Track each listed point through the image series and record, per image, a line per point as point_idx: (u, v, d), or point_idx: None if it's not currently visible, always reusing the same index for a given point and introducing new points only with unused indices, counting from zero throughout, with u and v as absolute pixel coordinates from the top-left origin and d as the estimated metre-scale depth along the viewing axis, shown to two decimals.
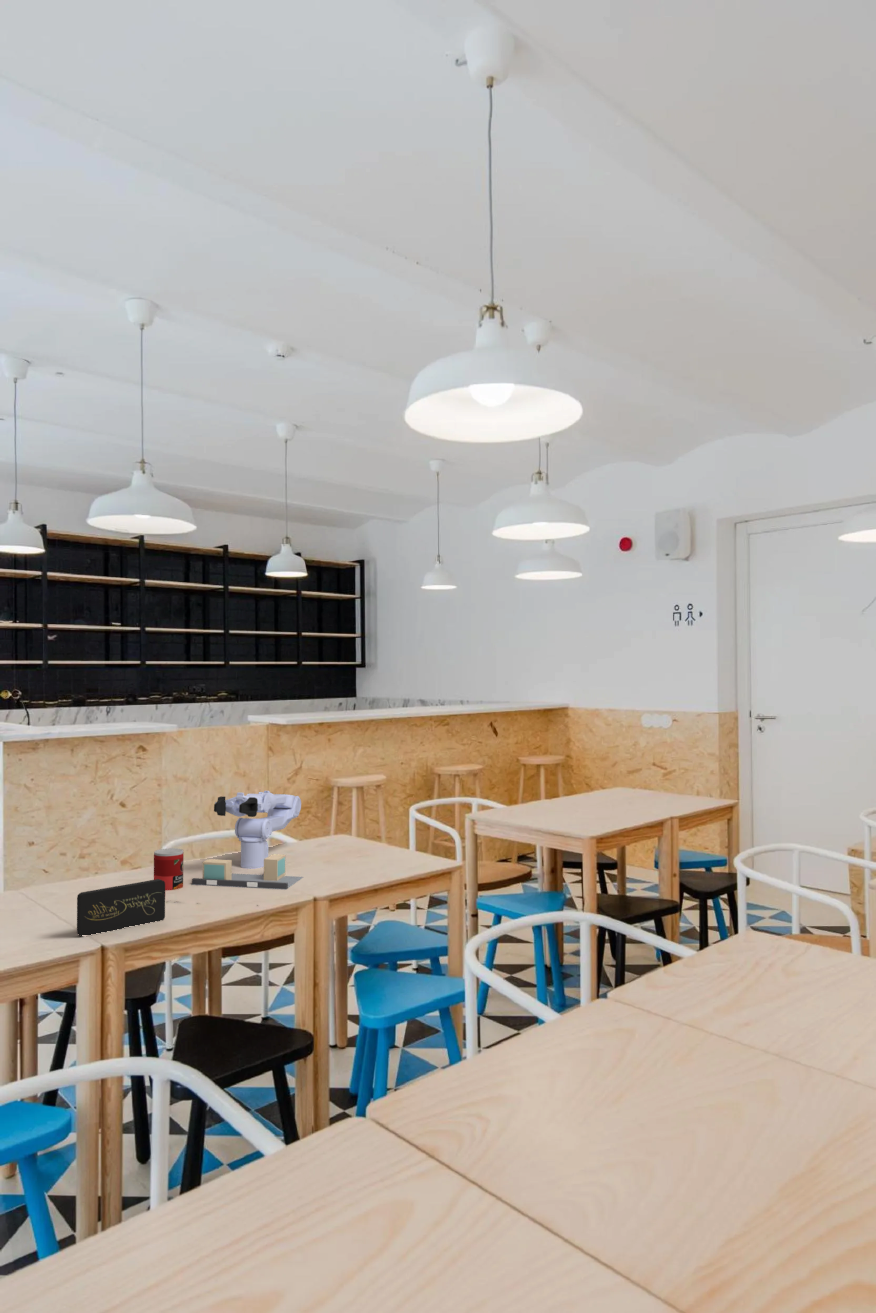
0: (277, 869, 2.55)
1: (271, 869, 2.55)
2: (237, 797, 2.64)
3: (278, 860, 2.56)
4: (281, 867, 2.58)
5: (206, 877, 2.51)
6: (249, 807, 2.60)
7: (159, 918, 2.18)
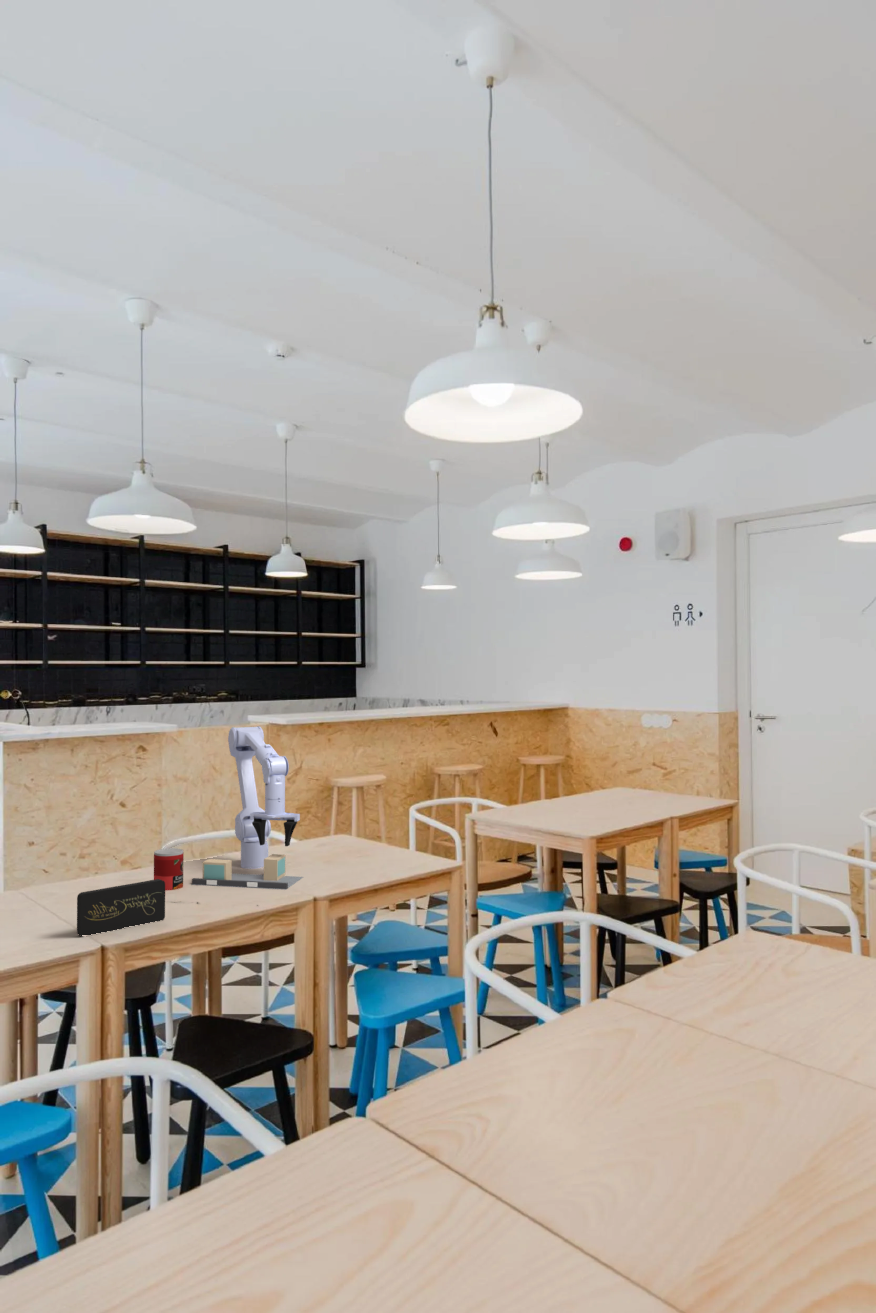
0: (277, 869, 2.55)
1: (271, 869, 2.55)
2: None
3: (278, 860, 2.56)
4: (281, 867, 2.58)
5: (206, 877, 2.51)
6: None
7: (159, 918, 2.18)
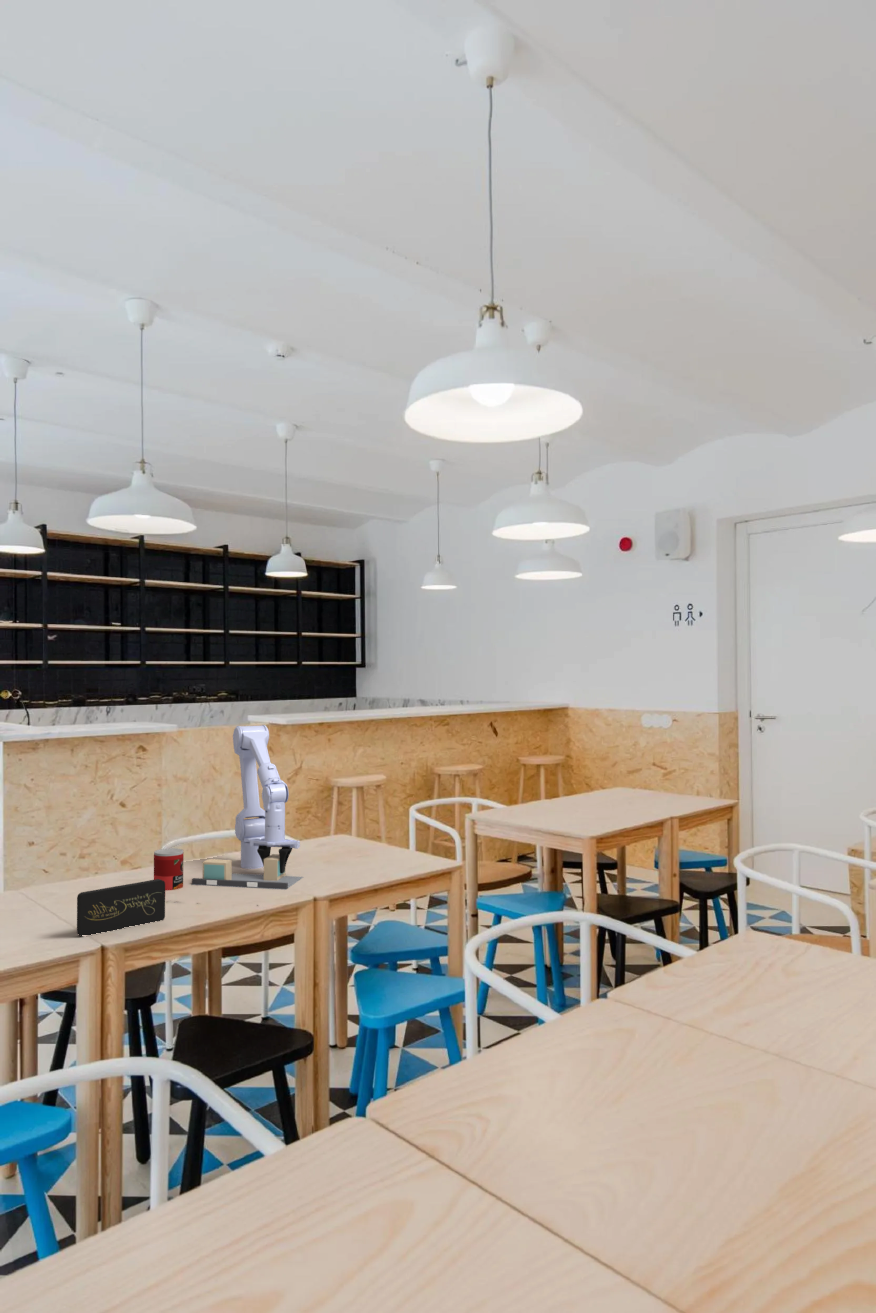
0: (277, 869, 2.55)
1: (271, 869, 2.55)
2: None
3: (278, 860, 2.56)
4: None
5: (206, 877, 2.51)
6: None
7: (159, 918, 2.18)
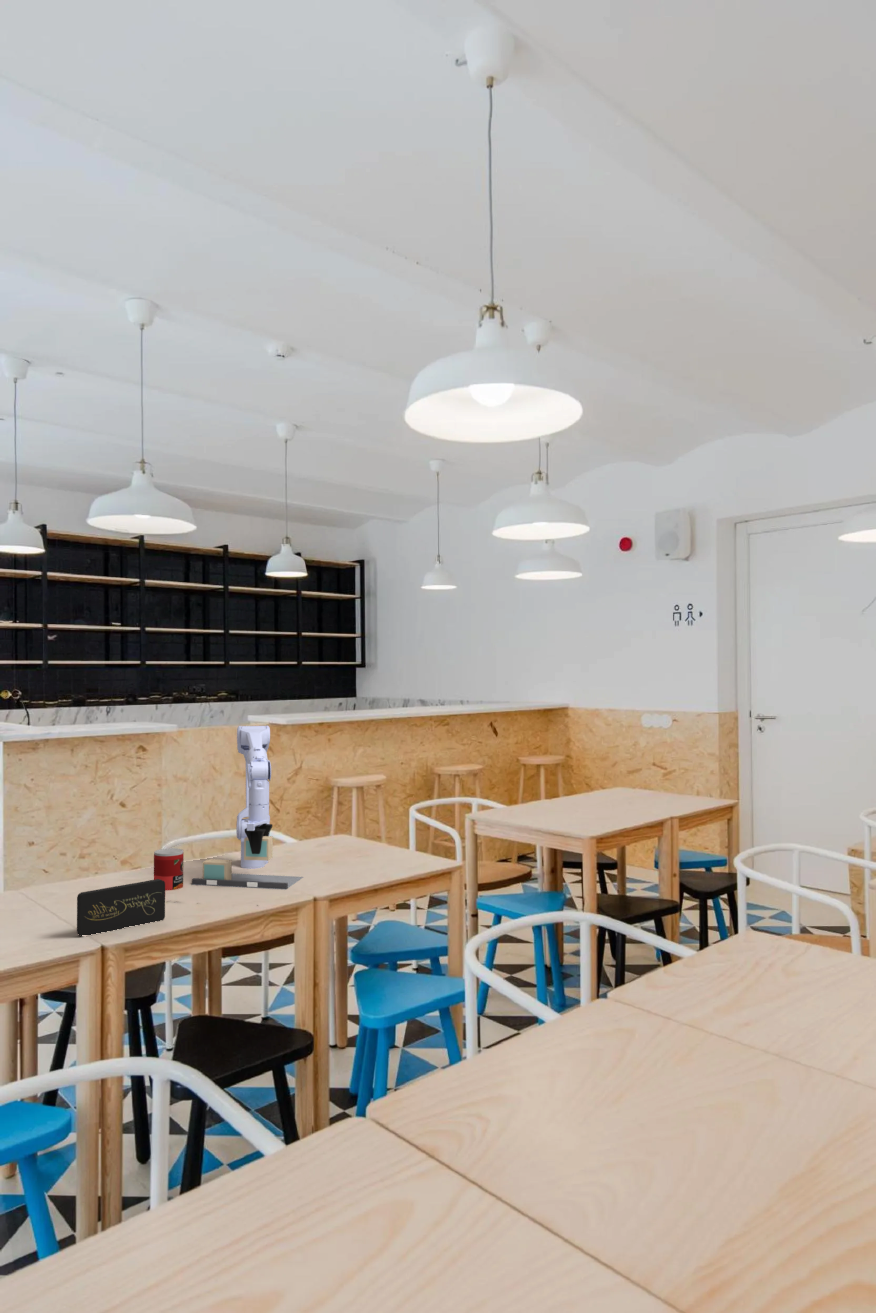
0: (246, 848, 2.50)
1: None
2: None
3: (248, 840, 2.50)
4: None
5: (206, 877, 2.51)
6: (255, 833, 2.48)
7: (159, 918, 2.18)
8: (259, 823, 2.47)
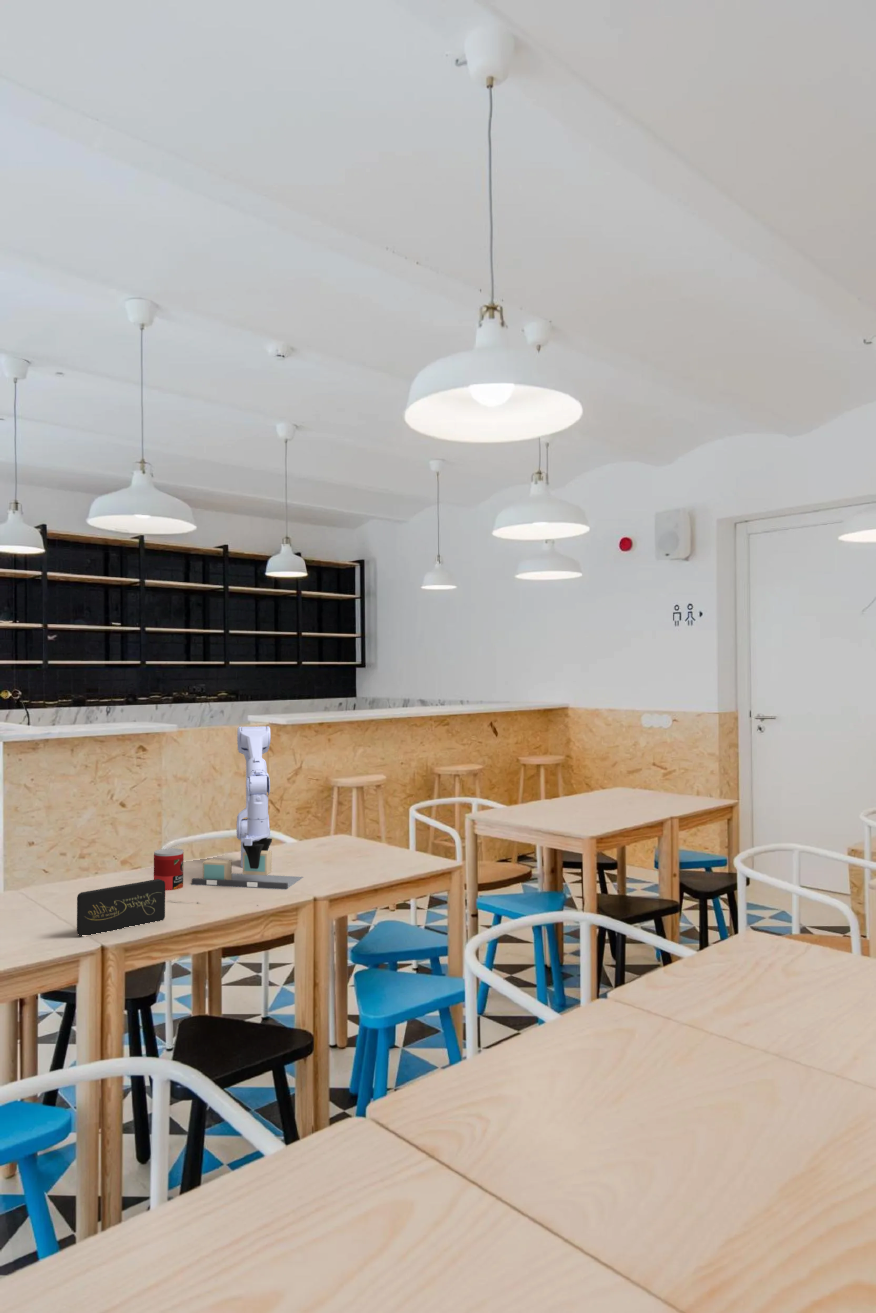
0: (244, 863, 2.49)
1: None
2: None
3: (246, 854, 2.49)
4: None
5: (206, 877, 2.51)
6: (253, 848, 2.48)
7: (159, 918, 2.18)
8: (257, 838, 2.46)
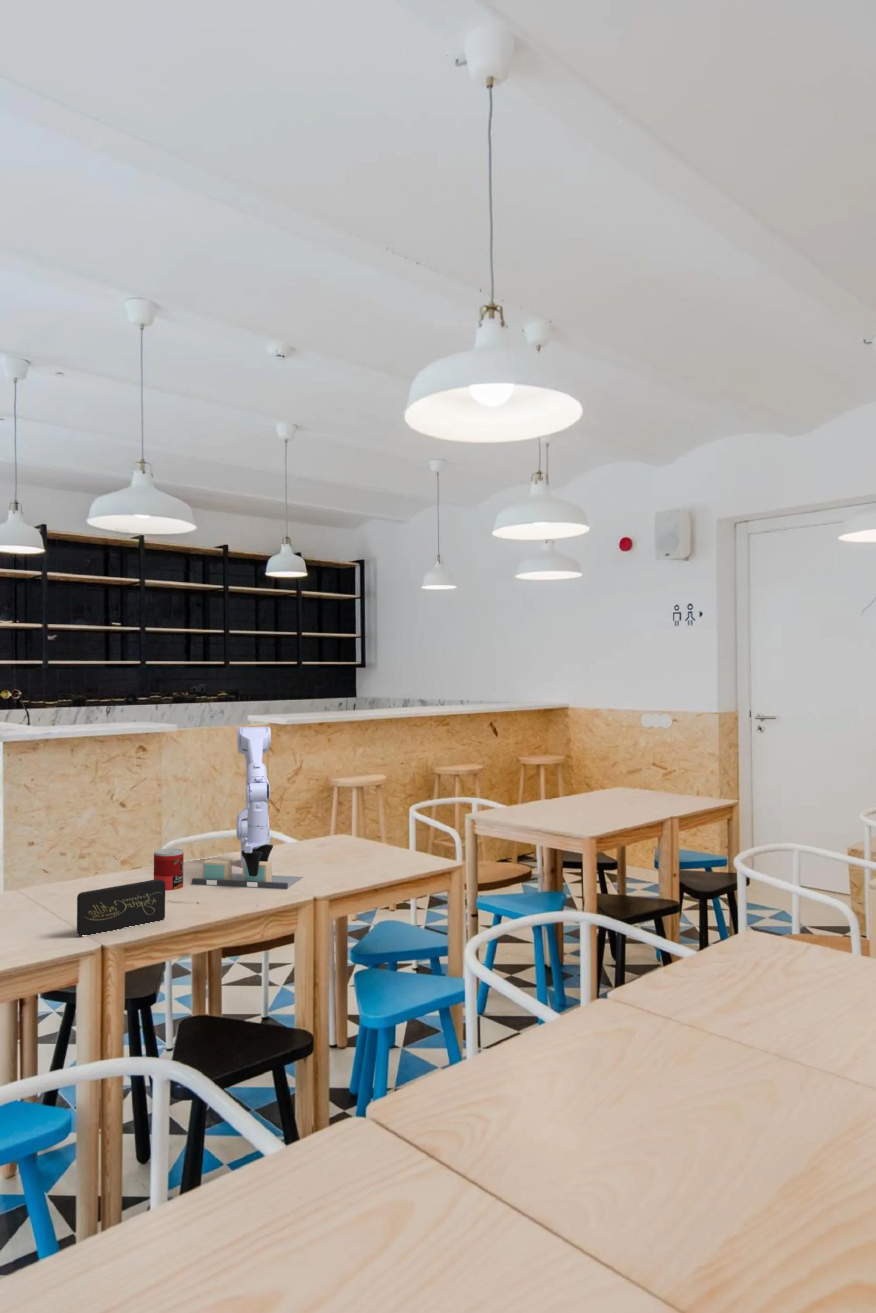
0: (244, 874, 2.49)
1: None
2: None
3: (246, 865, 2.49)
4: None
5: (206, 877, 2.51)
6: (252, 856, 2.47)
7: (159, 918, 2.18)
8: (257, 845, 2.46)
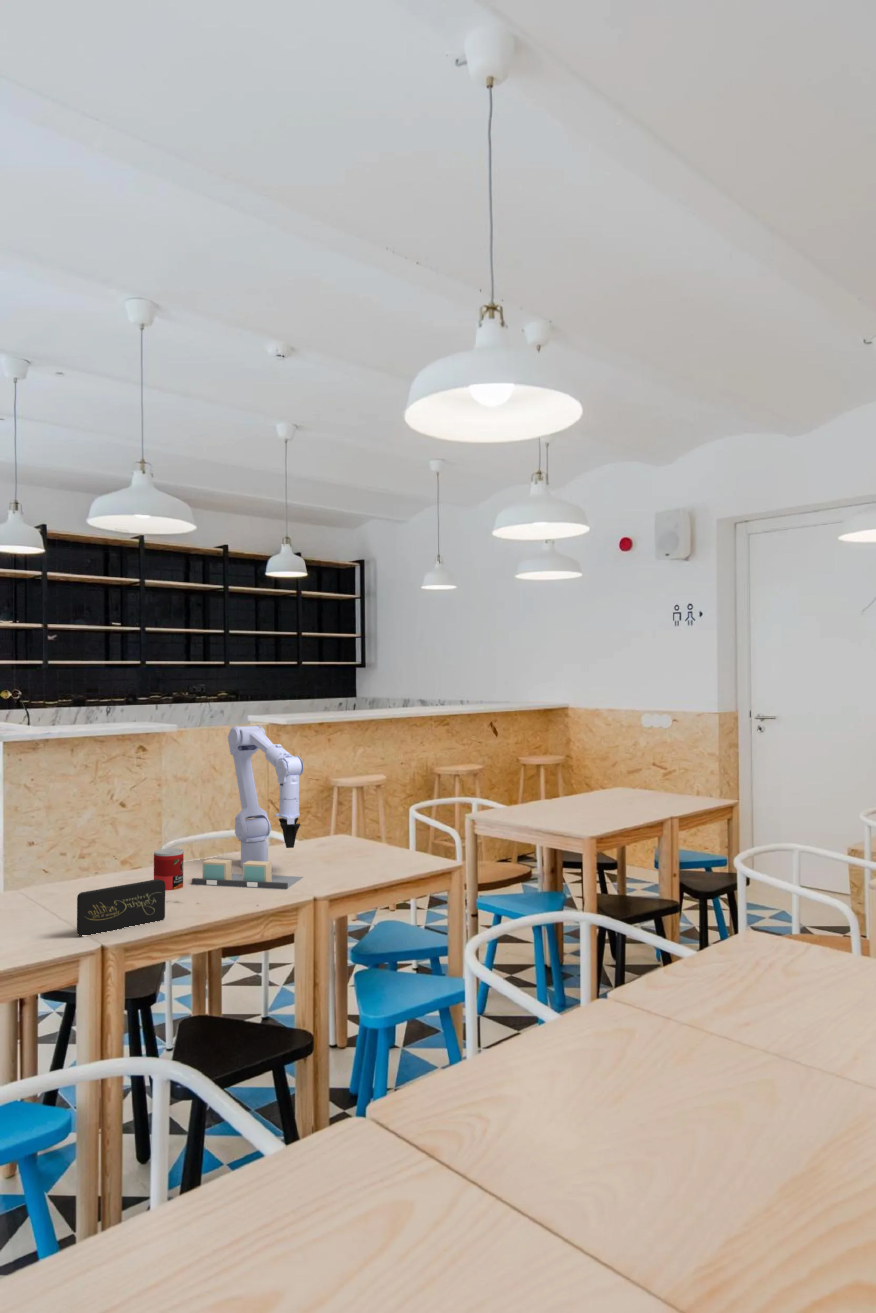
0: (244, 874, 2.49)
1: None
2: None
3: (246, 865, 2.49)
4: (254, 875, 2.49)
5: (206, 877, 2.51)
6: (290, 828, 2.55)
7: (159, 918, 2.18)
8: (295, 817, 2.55)
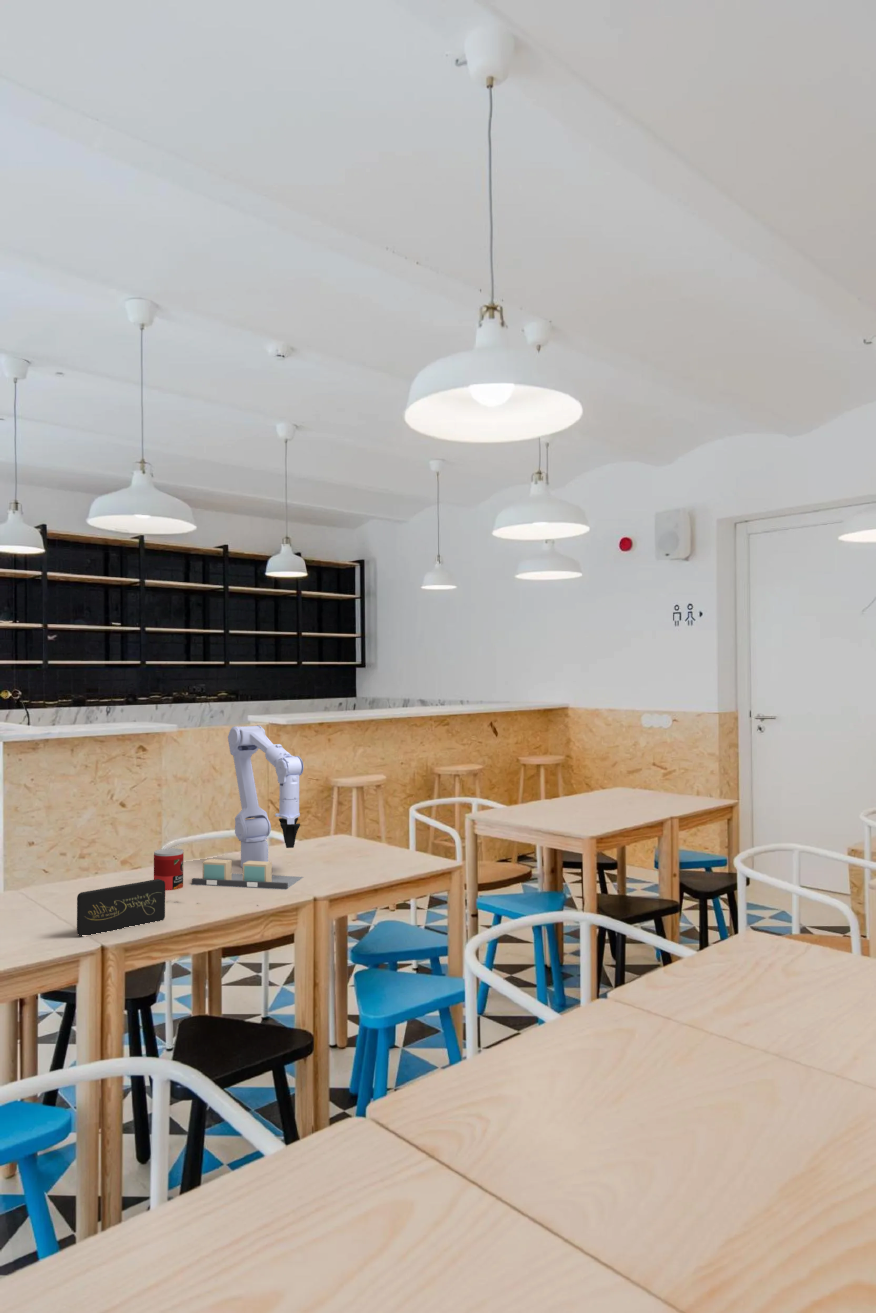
0: (244, 874, 2.49)
1: None
2: None
3: (246, 865, 2.49)
4: (254, 875, 2.49)
5: (206, 877, 2.51)
6: (290, 828, 2.55)
7: (159, 918, 2.18)
8: (295, 817, 2.55)
